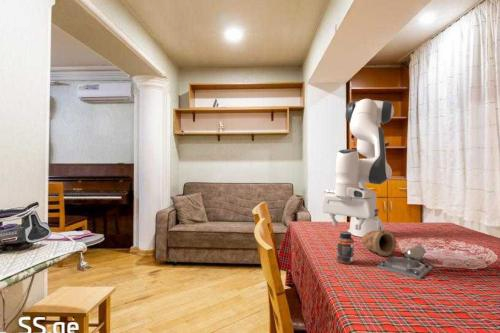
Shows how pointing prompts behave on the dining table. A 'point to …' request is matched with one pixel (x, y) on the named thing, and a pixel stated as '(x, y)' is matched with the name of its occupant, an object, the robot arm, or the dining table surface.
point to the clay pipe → (380, 242)
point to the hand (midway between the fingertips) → (346, 227)
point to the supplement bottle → (345, 248)
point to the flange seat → (407, 263)
